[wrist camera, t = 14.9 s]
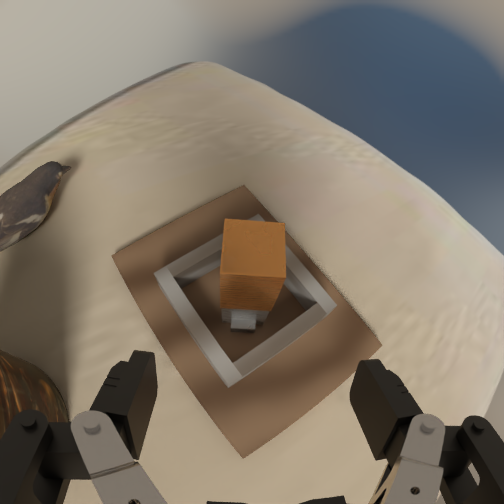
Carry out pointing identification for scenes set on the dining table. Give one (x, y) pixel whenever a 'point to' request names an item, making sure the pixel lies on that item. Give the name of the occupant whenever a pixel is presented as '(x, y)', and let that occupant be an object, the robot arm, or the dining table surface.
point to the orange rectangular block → (251, 271)
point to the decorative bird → (28, 203)
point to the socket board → (238, 343)
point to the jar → (27, 391)
